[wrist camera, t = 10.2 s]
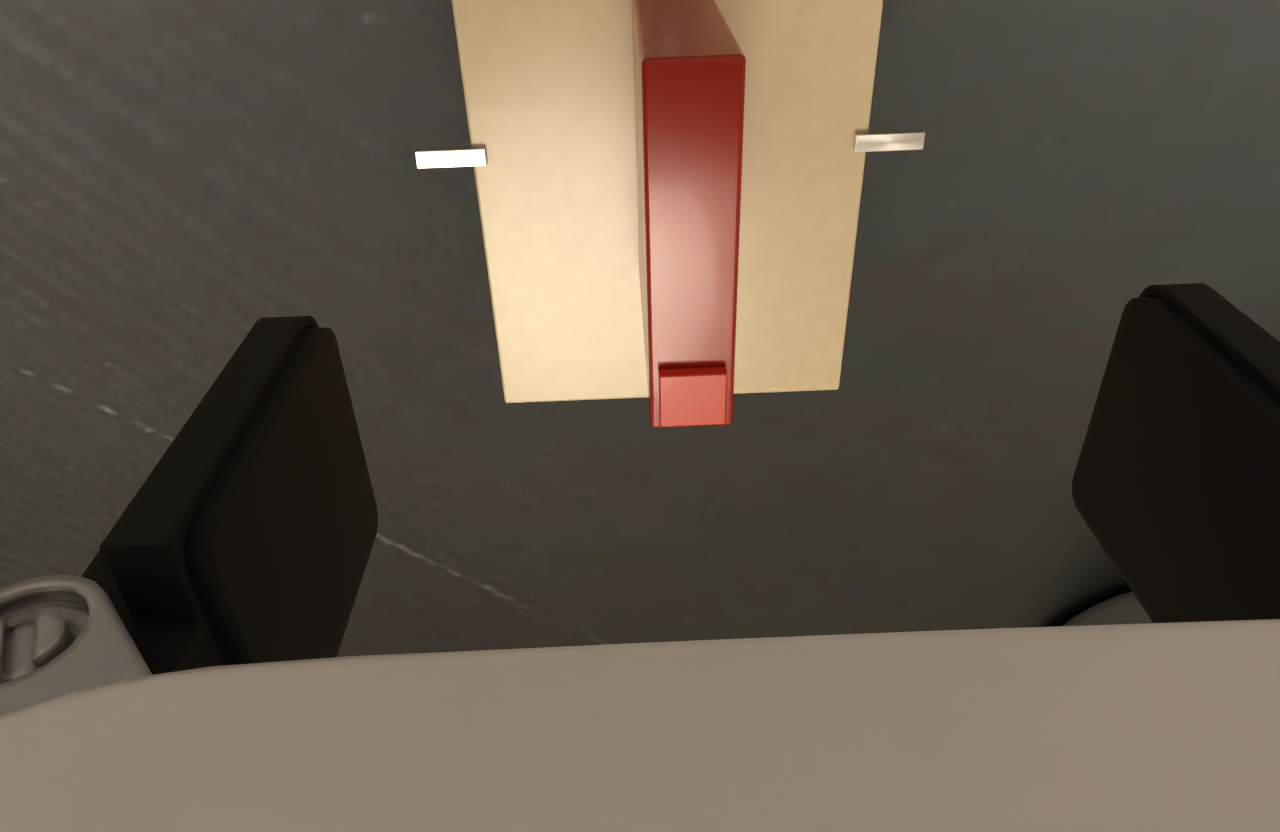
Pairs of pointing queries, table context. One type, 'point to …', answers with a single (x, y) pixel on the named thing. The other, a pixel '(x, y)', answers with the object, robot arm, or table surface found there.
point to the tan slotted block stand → (607, 187)
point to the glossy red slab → (688, 205)
